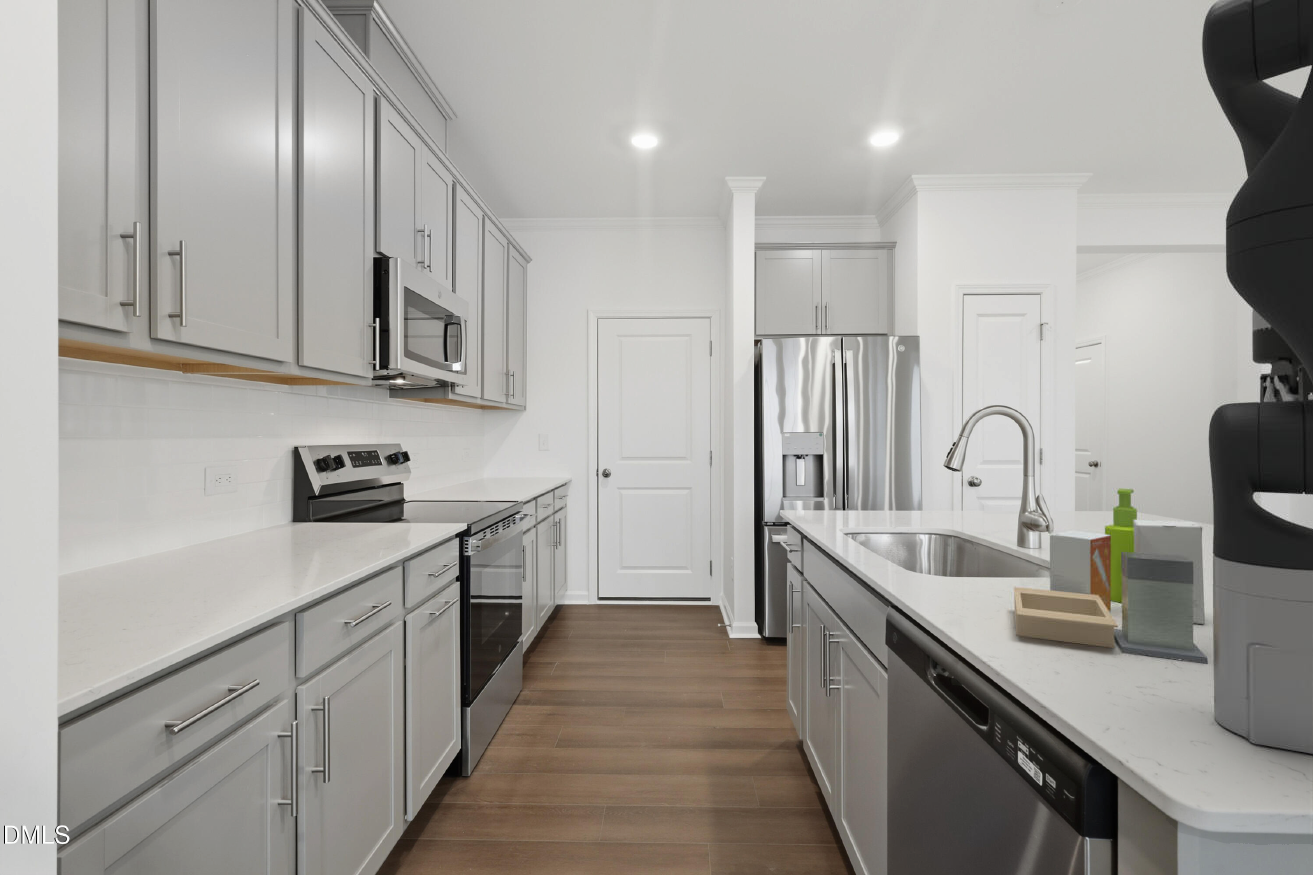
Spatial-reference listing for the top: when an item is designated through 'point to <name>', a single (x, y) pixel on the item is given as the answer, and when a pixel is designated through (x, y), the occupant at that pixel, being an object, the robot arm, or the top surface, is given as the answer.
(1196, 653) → the mat
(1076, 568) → the small box
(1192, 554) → the skincare box
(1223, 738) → the top surface
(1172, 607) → the tea tin
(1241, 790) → the top surface
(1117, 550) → the soap dispenser
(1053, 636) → the wooden rectangular frame
